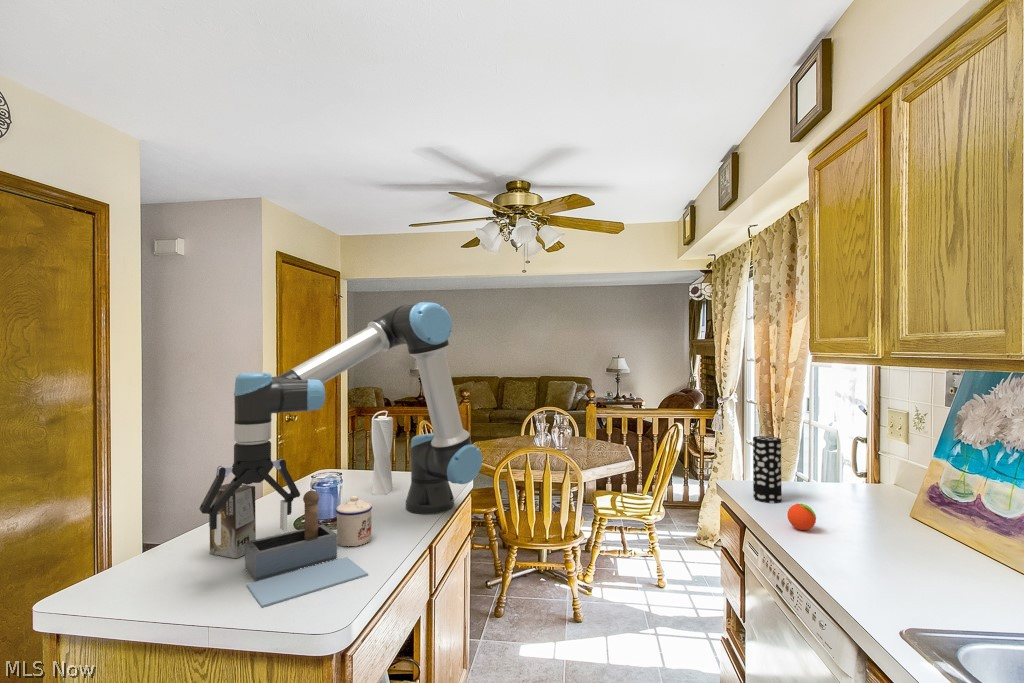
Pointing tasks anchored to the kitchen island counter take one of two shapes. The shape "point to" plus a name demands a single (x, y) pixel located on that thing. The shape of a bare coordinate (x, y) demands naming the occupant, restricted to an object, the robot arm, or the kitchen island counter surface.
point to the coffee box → (235, 522)
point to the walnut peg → (311, 514)
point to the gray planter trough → (288, 552)
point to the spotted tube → (767, 469)
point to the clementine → (801, 516)
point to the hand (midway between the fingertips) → (251, 536)
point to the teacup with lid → (353, 522)
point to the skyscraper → (382, 453)
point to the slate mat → (304, 581)
